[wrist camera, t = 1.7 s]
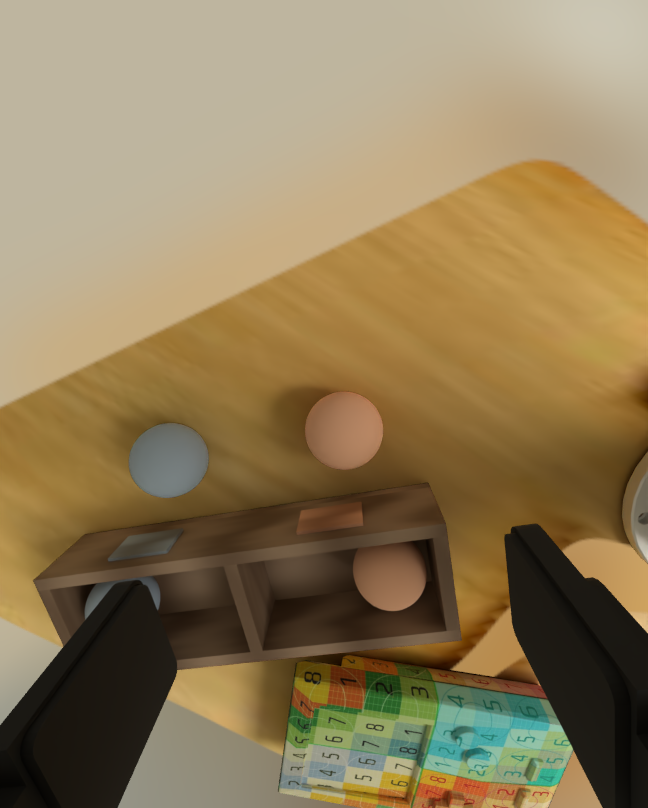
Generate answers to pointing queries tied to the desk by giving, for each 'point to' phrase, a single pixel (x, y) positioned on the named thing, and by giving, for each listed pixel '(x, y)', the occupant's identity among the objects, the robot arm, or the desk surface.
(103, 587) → the blue-grey ball
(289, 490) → the desk surface
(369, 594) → the tan rounded piece
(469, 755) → the puzzle game
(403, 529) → the divided wooden box
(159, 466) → the slate ball
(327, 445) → the terracotta ball
